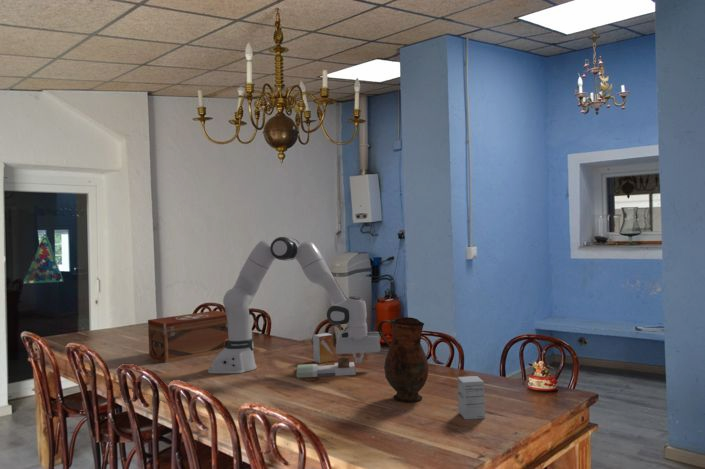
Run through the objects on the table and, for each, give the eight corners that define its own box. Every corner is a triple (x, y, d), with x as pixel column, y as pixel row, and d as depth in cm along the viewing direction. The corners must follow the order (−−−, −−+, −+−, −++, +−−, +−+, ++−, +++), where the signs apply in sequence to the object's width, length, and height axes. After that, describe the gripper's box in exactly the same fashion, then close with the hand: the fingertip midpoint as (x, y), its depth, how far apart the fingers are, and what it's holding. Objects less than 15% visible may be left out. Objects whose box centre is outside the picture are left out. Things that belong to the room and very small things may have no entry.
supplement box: (458, 413, 208) (456, 376, 208) (479, 411, 209) (477, 375, 209) (463, 419, 201) (462, 382, 201) (485, 418, 201) (484, 380, 201)
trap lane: (296, 377, 265) (296, 373, 265) (298, 369, 281) (297, 364, 281) (355, 374, 266) (355, 370, 266) (353, 366, 282) (353, 362, 282)
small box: (320, 363, 290) (318, 336, 290) (313, 361, 296) (312, 334, 295) (334, 360, 295) (333, 334, 295) (327, 358, 300) (326, 332, 300)
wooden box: (236, 349, 331) (234, 313, 331) (165, 363, 304) (163, 323, 304) (217, 345, 347) (216, 310, 346) (148, 357, 319) (147, 320, 319)
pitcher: (413, 408, 216) (410, 324, 215) (367, 398, 230) (364, 319, 229) (439, 396, 228) (436, 317, 227) (394, 388, 242) (391, 313, 242)
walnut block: (338, 368, 271) (337, 359, 271) (338, 365, 276) (337, 356, 276) (349, 367, 271) (349, 358, 271) (348, 365, 276) (348, 356, 276)
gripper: (379, 330, 277) (380, 360, 278) (335, 332, 276) (336, 362, 277) (381, 332, 271) (382, 363, 271) (335, 334, 270) (336, 365, 270)
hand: (358, 362), depth 274 cm, fingers closed
